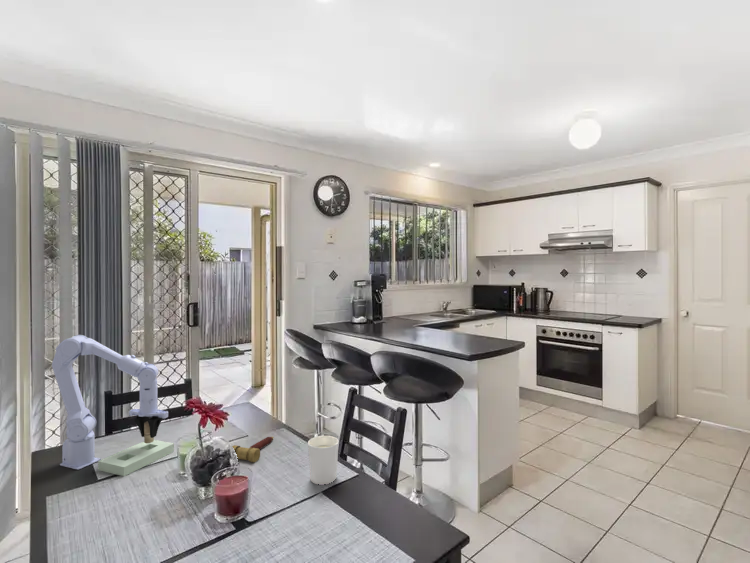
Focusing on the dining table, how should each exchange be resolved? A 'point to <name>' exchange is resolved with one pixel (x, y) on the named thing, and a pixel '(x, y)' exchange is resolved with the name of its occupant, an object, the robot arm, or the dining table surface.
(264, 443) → the gavel
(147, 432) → the maple peg
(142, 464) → the hole board
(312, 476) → the candle holder
